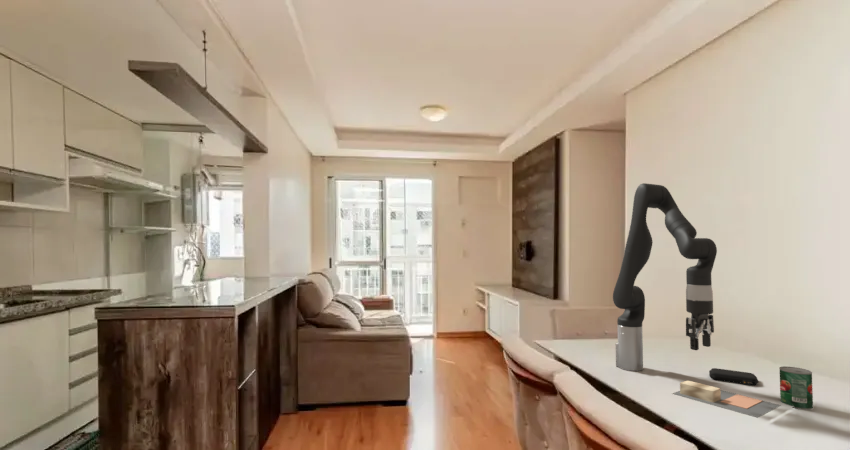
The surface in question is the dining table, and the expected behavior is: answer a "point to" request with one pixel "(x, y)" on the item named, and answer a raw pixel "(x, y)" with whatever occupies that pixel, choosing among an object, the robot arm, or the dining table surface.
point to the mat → (739, 403)
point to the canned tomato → (796, 387)
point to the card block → (700, 391)
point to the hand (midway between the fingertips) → (700, 348)
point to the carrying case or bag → (733, 376)
